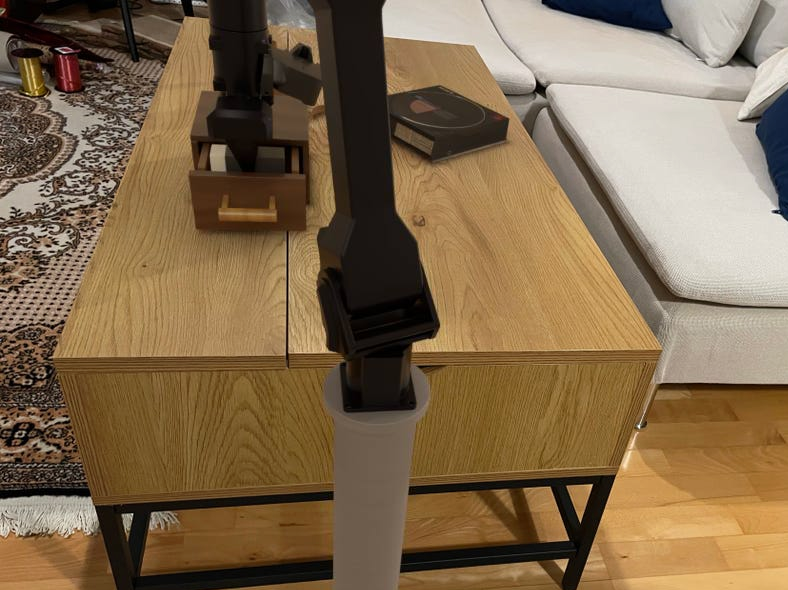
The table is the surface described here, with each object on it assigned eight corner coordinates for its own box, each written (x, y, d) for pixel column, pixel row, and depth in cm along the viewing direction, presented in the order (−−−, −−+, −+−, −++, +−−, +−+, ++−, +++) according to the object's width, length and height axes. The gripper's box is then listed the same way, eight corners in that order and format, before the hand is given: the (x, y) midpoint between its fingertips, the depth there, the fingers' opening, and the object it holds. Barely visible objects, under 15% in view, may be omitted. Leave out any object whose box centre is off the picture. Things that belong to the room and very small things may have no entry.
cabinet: (310, 204, 91) (309, 140, 86) (198, 201, 88) (189, 134, 82) (307, 156, 102) (306, 96, 96) (208, 152, 98) (201, 90, 93)
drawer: (307, 252, 80) (306, 198, 76) (191, 251, 77) (183, 194, 73) (304, 180, 94) (303, 131, 90) (206, 177, 91) (200, 126, 87)
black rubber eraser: (285, 182, 82) (284, 158, 80) (212, 180, 80) (209, 155, 78) (285, 171, 84) (284, 147, 82) (214, 168, 82) (211, 144, 80)
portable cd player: (360, 124, 113) (361, 100, 111) (437, 107, 124) (440, 84, 121) (429, 163, 105) (432, 138, 103) (505, 142, 116) (509, 118, 113)
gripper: (322, 60, 67) (323, 208, 76) (317, 7, 81) (318, 138, 90) (197, 50, 64) (215, 205, 74) (214, -3, 78) (227, 134, 88)
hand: (249, 167), depth 81 cm, fingers closed on black rubber eraser, 3 cm apart
